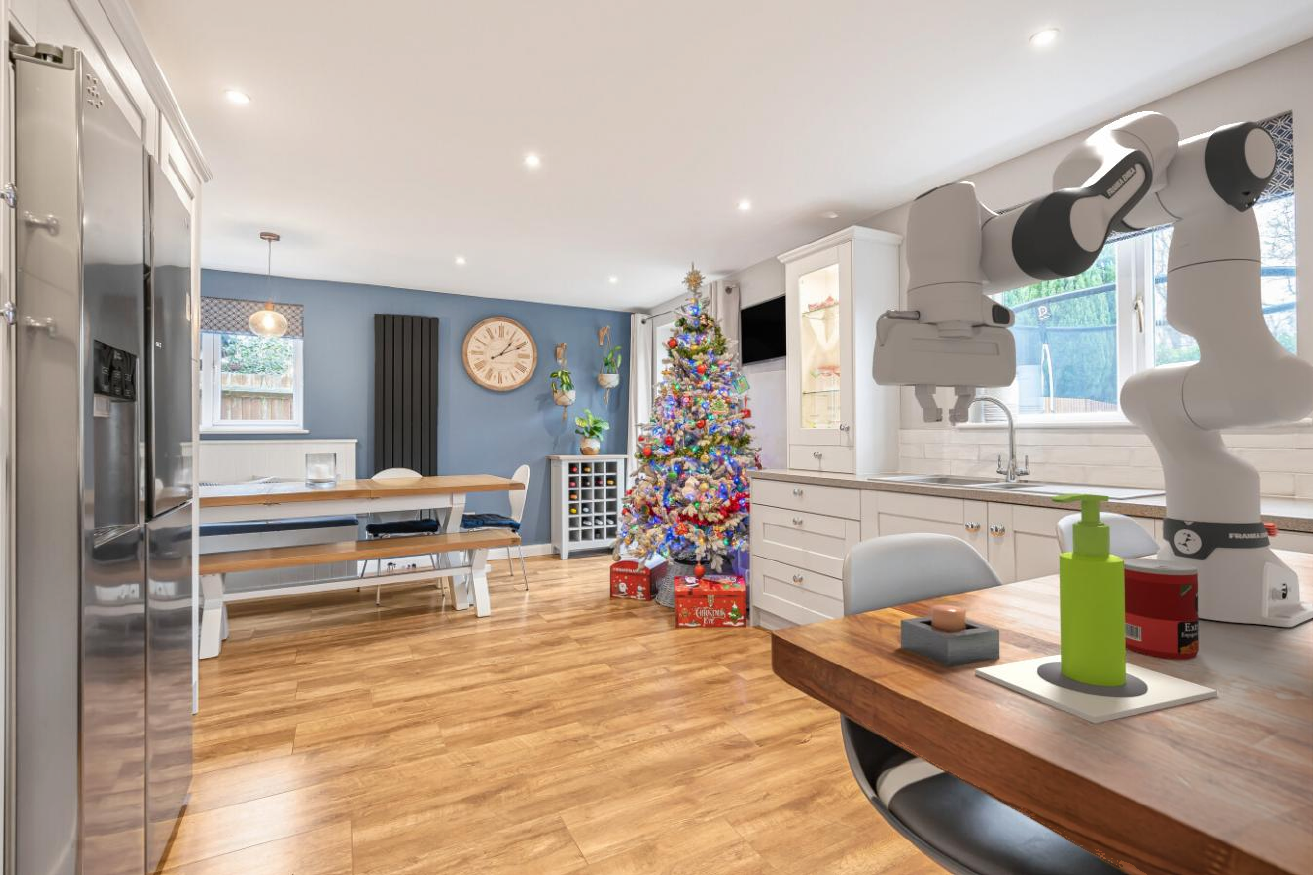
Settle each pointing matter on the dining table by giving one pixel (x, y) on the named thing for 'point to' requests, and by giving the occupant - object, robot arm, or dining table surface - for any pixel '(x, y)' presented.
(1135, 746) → the dining table surface
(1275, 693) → the dining table surface
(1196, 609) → the canned food
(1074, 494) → the soap dispenser
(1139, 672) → the white tray
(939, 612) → the button
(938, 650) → the button housing
